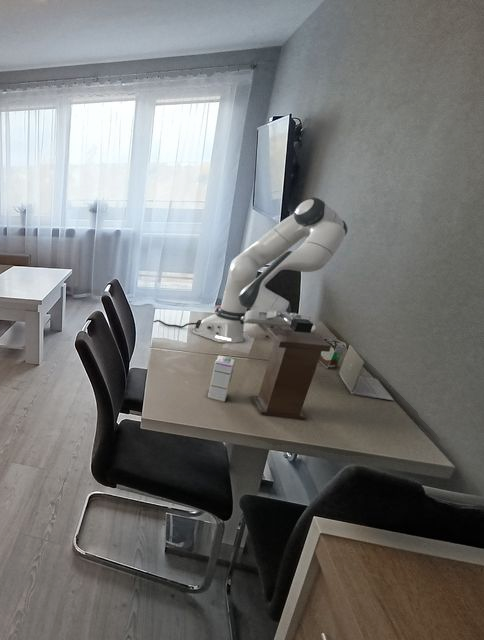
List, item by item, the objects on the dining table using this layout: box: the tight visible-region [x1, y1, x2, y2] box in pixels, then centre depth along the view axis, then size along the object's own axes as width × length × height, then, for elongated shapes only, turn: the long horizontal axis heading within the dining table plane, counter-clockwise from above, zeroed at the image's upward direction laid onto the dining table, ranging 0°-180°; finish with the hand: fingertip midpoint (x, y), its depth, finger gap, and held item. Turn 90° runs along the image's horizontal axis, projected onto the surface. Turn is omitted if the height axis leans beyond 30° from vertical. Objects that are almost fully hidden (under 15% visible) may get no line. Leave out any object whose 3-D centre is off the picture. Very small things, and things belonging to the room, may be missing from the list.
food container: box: [318, 336, 348, 370], centre depth 172 cm, size 12×6×10 cm, turn 168°
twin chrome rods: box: [278, 311, 314, 333], centre depth 134 cm, size 18×4×3 cm, turn 168°
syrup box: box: [207, 355, 236, 402], centre depth 144 cm, size 6×6×14 cm
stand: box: [250, 328, 331, 421], centre depth 135 cm, size 12×14×26 cm
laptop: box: [338, 344, 394, 401], centre depth 153 cm, size 18×12×13 cm
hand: (286, 314), depth 139 cm, fingers closed on twin chrome rods, 3 cm apart
